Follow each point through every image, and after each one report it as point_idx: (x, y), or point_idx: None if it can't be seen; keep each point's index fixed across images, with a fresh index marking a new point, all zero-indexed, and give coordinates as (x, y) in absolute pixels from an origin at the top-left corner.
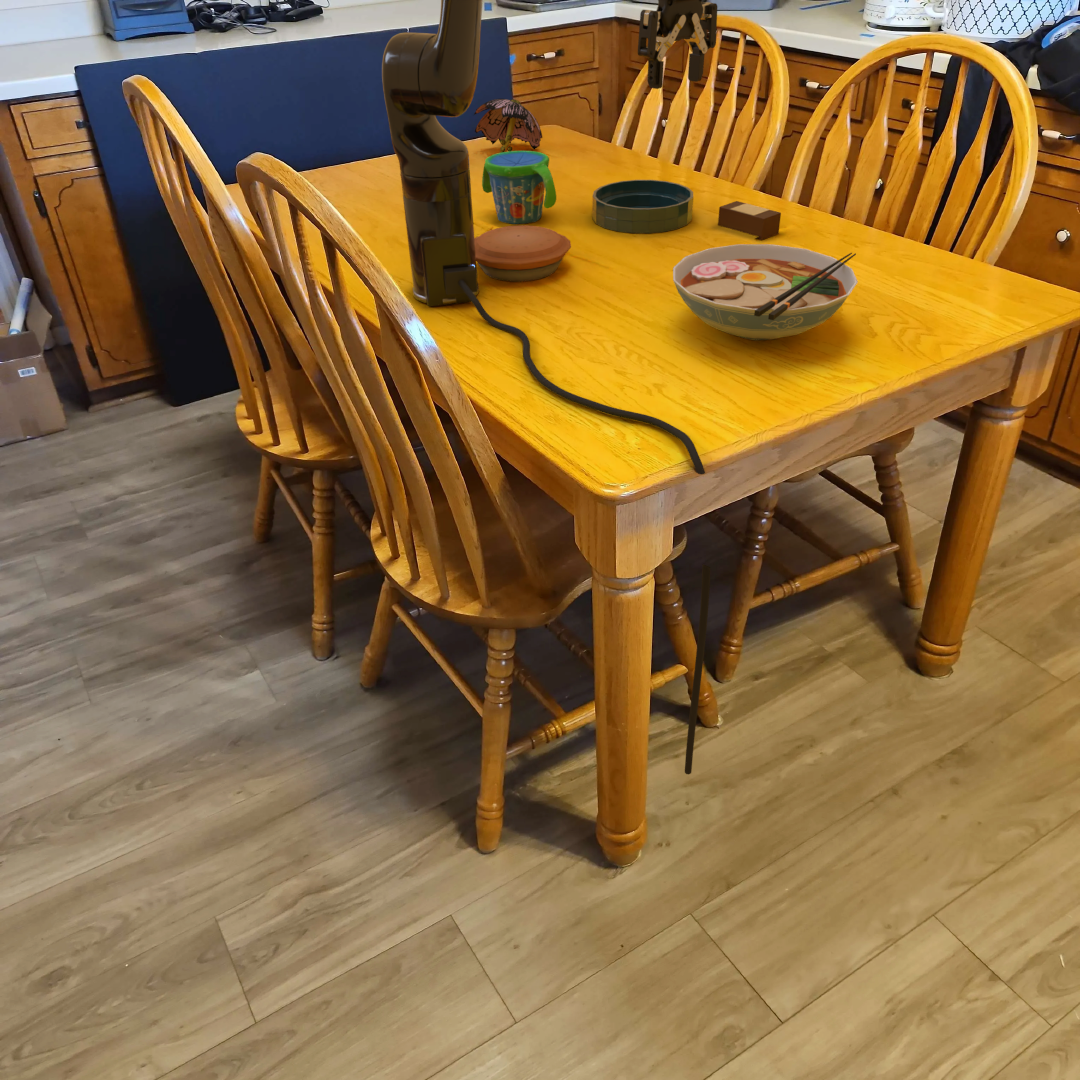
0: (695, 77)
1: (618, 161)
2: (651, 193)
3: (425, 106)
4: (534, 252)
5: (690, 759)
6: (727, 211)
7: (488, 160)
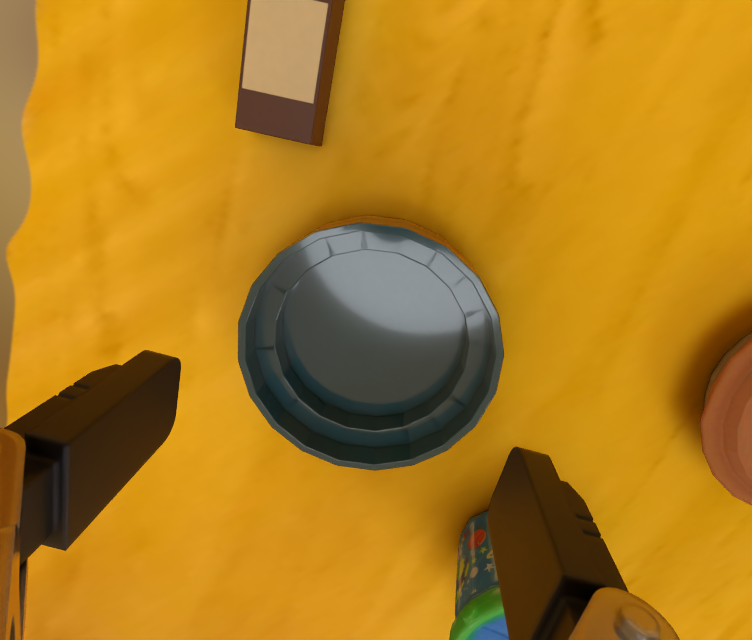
0: (168, 386)
1: (56, 567)
2: (273, 375)
3: None
4: None
5: None
6: (317, 111)
7: None
